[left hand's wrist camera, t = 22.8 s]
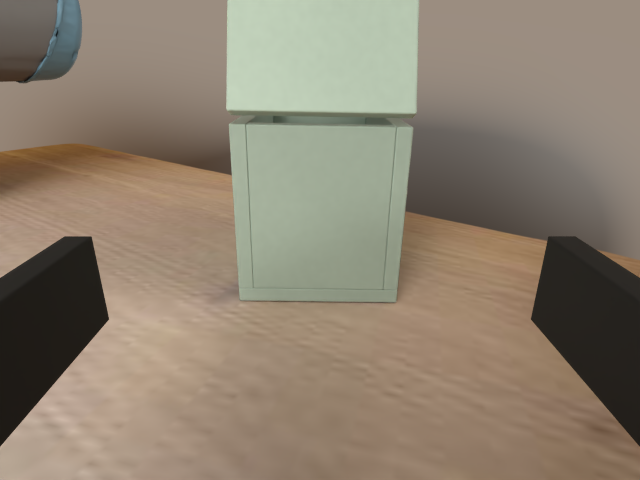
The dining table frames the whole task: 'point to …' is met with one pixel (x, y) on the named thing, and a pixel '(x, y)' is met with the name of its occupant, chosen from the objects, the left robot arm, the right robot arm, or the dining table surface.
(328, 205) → the chest
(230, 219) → the dining table surface
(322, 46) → the lid
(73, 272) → the left robot arm
